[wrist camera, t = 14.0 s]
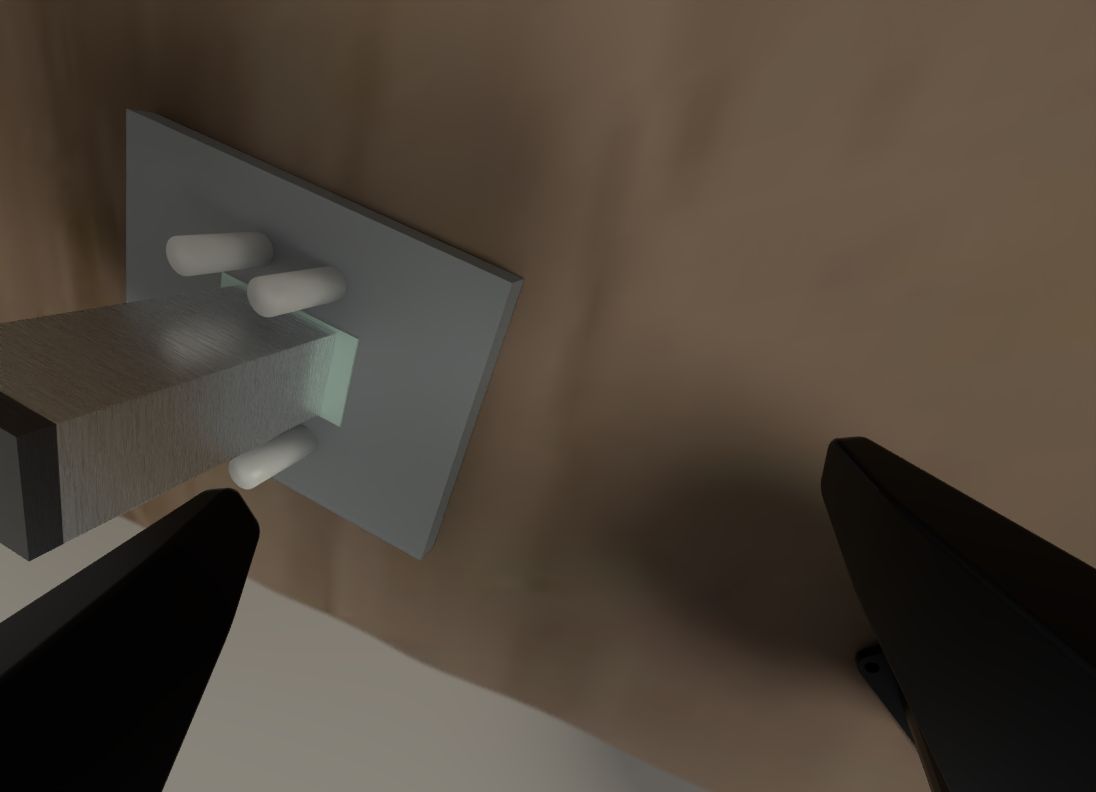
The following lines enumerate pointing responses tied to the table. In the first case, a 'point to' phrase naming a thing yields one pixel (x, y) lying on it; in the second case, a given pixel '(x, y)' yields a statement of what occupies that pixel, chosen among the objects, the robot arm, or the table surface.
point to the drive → (142, 404)
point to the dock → (329, 320)
